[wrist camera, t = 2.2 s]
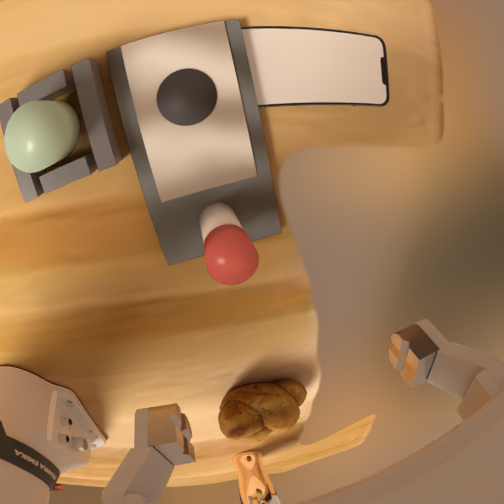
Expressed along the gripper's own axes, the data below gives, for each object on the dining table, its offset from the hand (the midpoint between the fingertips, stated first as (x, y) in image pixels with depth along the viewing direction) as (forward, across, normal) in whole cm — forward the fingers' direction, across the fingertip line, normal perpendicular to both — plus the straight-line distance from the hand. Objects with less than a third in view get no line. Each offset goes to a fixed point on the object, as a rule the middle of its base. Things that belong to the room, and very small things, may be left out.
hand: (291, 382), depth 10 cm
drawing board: (+20, -1, +6) cm, 21 cm away
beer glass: (+20, -8, -50) cm, 54 cm away
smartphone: (+21, +11, +11) cm, 26 cm away
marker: (+19, 0, -1) cm, 19 cm away
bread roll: (+20, -1, -29) cm, 35 cm away
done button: (+17, -12, +11) cm, 23 cm away
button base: (+20, -12, +11) cm, 25 cm away
